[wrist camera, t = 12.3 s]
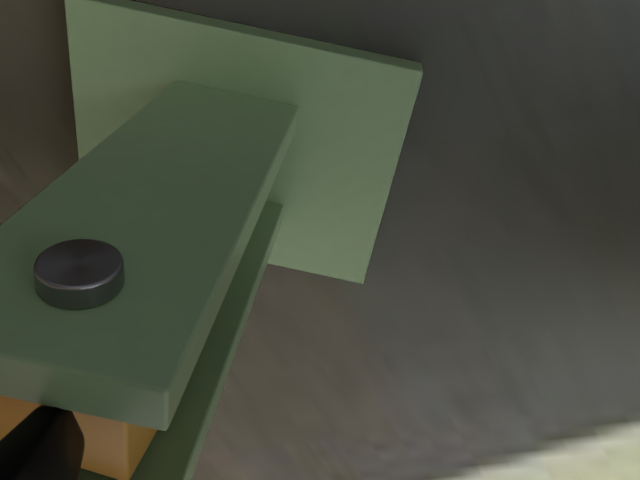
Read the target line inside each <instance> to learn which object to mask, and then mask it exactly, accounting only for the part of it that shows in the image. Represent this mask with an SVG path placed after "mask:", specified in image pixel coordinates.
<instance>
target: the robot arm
mask: <svg viewBox="0 0 640 480" xmlns="http://www.w3.org/2000/svg"><path fill="white" fill-rule="evenodd" d="M84 448H85V439H84V435H83V432H82V430H81V428H80V426H79V424H78V422H77V420H76V418H75V416H74V414H73V412H72V411H69V410H65V409H61V408H58V407H51V406H46V405H41V406H39V407H37V408H36V409H35V410H33V411H32V412H31V413H30V414H29V415H28V416H27V417H26V418H25V419H23V420H22V421H21V422H20V423H19V424H18V425H17V426H16V427H14V428H13V429H12V430H11V431H10V432H9V433H8V434H7V435H6V436H4V437H3V438H2V439H1V440H0V480H78V479H79V474H80V469H81V464H82V459H83V454H84Z"/></svg>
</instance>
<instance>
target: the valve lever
mask: <svg viewBox="0 0 640 480" xmlns="http://www.w3.org/2000/svg"><path fill="white" fill-rule="evenodd" d="M41 405H42V404H37V403H33V402H28V401H23V400H19V399H14V398H10V397H5V396H1V395H0V440H1V439H2V438H3V437H4V436H6V435H7V434H8V433H9V432H10V431H11V430H12V429H13V428H14V427H16V426H17V425H18V424H19V423H20V422H21V421H22V420H23V419H25V418H26V417H27V416H28V415H29V414H30V413H31V412H32V411H33V410H35V409H36V408H37V407H39V406H41ZM72 412H73V414H74V416H75V418H76V420H77V422H78V424H79V426H80V428H81V430H82V432H83V435H84V439H85V448H84V454H83V459H82V464H81V468H83V469H86V470H89V471H92V472H95V473H99V474H102V475H105V476H108V477H112V478H115V479H118V480H129V479H130V478H131V476H132V475H133V473H134V471H135V469H136V468H137V466H138V464H139V462H140V460H141V459H142V457H143V455H144V453H145V451H146V450H147V448H148V446H149V444H150V442H151V441H152V439H153V437H154V435H155V433H156V432H157V429H152V428H147V427H143V426H138V425H134V424H129V423H124V422H120V421H115V420H111V419H106V418H101V417H97V416H92V415H88V414H83V413H79V412H74V411H72Z"/></svg>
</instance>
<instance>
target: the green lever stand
mask: <svg viewBox="0 0 640 480" xmlns="http://www.w3.org/2000/svg"><path fill="white" fill-rule="evenodd" d="M64 4H65V15H66V26H67V37H68V48H69V59H70V70H71V81H72V92H73V103H74V114H75V125H76V136H77V147H78V158H79V161H77V162H76V163H75V164H74V165H73V166H71V167H70V168H69V169H68V170H67V171H65V172H64V173H63V174H62V175H60V176H59V177H58V178H57V179H56V180H54V181H53V182H52V183H51V184H50V185H48V186H47V187H46V188H45V189H43V190H42V191H41V192H40V193H39V194H37V195H36V196H35V197H34V198H33V199H31V200H30V201H29V202H28V203H26V204H25V205H24V206H23V207H22V208H20V209H19V210H18V211H17V212H16V213H14V214H13V215H12V216H11V217H9V218H8V219H7V220H6V221H5V222H3V223H2V224H1V225H0V395H1V396H5V397H10V398H14V399H19V400H23V401H28V402H33V403H37V404H42V405H46V406H51V407H58V408H61V409H65V410H69V411H74V412H79V413H83V414H88V415H92V416H97V417H101V418H106V419H111V420H115V421H120V422H124V423H129V424H134V425H138V426H143V427H147V428H152V429H157V432H156V433H155V435H154V437H153V439H152V441H151V442H150V444H149V446H148V448H147V450H146V451H145V453H144V455H143V457H142V459H141V460H140V462H139V464H138V466H137V468H136V469H135V471H134V473H133V475H132V476H131V478H130V479H129V480H191V479H192V476H193V473H194V470H195V468H196V465H197V462H198V459H199V456H200V453H201V450H202V448H203V445H204V442H205V439H206V436H207V433H208V431H209V428H210V425H211V422H212V419H213V416H214V414H215V411H216V408H217V405H218V402H219V399H220V396H221V394H222V391H223V388H224V385H225V382H226V379H227V377H228V374H229V371H230V368H231V365H232V362H233V360H234V357H235V354H236V351H237V348H238V345H239V342H240V340H241V337H242V334H243V331H244V328H245V325H246V323H247V320H248V317H249V314H250V311H251V308H252V306H253V303H254V300H255V297H256V294H257V291H258V288H259V286H260V283H261V280H262V277H263V274H264V271H265V269H266V266H267V263H268V264H273V265H277V266H282V267H287V268H291V269H296V270H301V271H305V272H310V273H314V274H319V275H324V276H328V277H333V278H337V279H342V280H347V281H351V282H356V283H360V284H362V283H363V282H364V278H365V275H366V271H367V268H368V264H369V261H370V257H371V254H372V250H373V247H374V244H375V240H376V237H377V233H378V230H379V226H380V223H381V219H382V216H383V212H384V209H385V205H386V202H387V198H388V195H389V191H390V188H391V184H392V181H393V177H394V174H395V170H396V167H397V163H398V160H399V156H400V153H401V149H402V146H403V142H404V139H405V135H406V132H407V128H408V125H409V121H410V118H411V114H412V111H413V107H414V104H415V100H416V97H417V93H418V90H419V86H420V83H421V79H422V76H423V70H422V64H421V63H420V62H415V61H411V60H406V59H401V58H397V57H392V56H387V55H383V54H378V53H373V52H369V51H364V50H359V49H355V48H350V47H345V46H341V45H336V44H332V43H327V42H322V41H318V40H313V39H308V38H304V37H299V36H294V35H290V34H285V33H280V32H276V31H271V30H266V29H262V28H257V27H253V26H248V25H243V24H239V23H234V22H229V21H225V20H220V19H215V18H211V17H206V16H201V15H197V14H192V13H187V12H183V11H178V10H174V9H169V8H164V7H160V6H155V5H150V4H146V3H141V2H136V1H132V0H64ZM78 480H118V479H115V478H112V477H108V476H105V475H102V474H99V473H95V472H92V471H89V470H86V469H83V468H81V469H80V474H79V479H78Z"/></svg>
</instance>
